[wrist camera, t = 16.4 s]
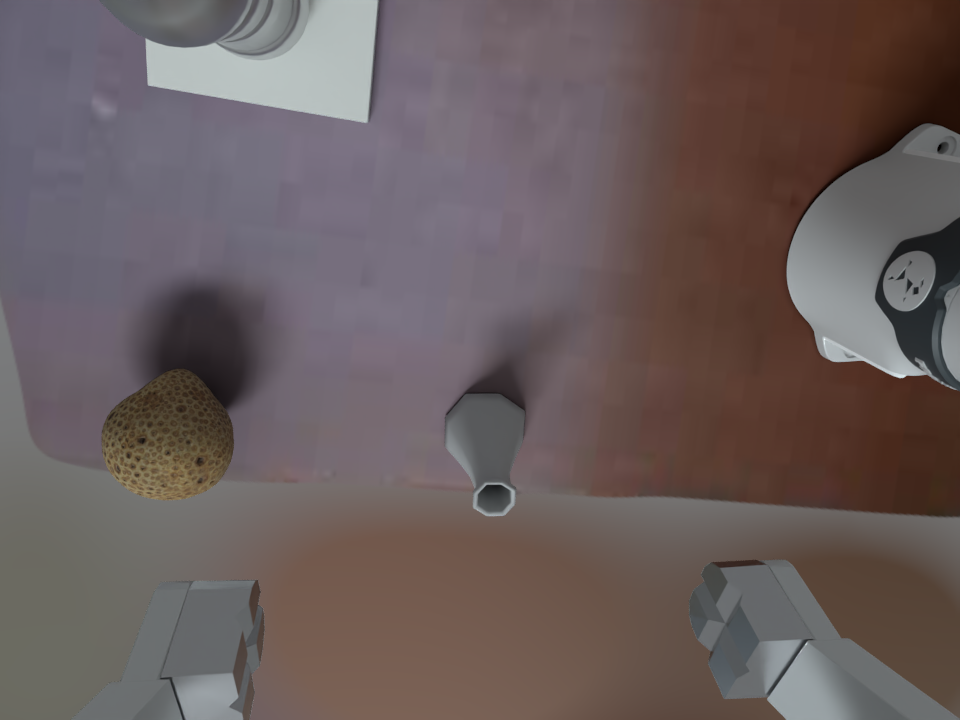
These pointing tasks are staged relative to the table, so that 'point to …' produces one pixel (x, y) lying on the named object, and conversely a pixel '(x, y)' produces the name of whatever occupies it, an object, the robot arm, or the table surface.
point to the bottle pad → (286, 66)
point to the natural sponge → (169, 438)
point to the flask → (487, 447)
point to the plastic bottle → (217, 23)
